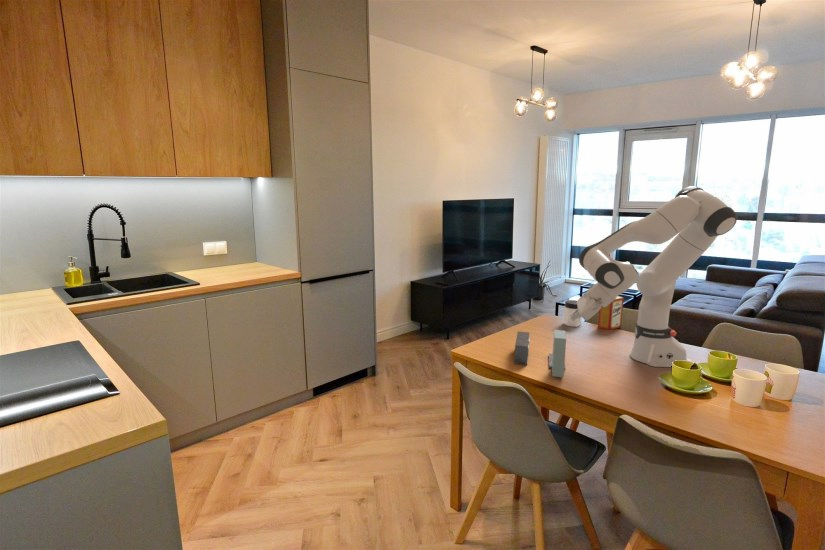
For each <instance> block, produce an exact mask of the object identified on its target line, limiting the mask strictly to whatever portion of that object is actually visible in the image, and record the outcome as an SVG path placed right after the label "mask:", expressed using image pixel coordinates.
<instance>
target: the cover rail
mask: <svg viewBox="0 0 825 550" xmlns="http://www.w3.org/2000/svg"><path fill="white" fill-rule="evenodd" d="M552 357H553V353H548V369H550V370H552ZM564 371H566V364H565V365H564Z"/></svg>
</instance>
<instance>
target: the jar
mask: <svg viewBox="0 0 825 550" xmlns="http://www.w3.org/2000/svg"><path fill="white" fill-rule="evenodd" d="M577 301H578V300H577V299H576V300H574V299H573V300H572V299H568V300H565V302H564V306H563V315H562V317H563V319H562V324H563V325H565V326H567V327H574V328H575V327H580V326H582V319H583V318H582V317H579V318H577V319H576V320H574V321H572V320H571V318H570V315H572V314H573V313H574V312H575V310H576V309H577V308H578V306H577V303H576V302H577Z"/></svg>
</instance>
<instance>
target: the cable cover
mask: <svg viewBox="0 0 825 550" xmlns="http://www.w3.org/2000/svg"><path fill="white" fill-rule="evenodd" d="M566 335H567V334H566V330H559V329H554V330H553V343H552V354H553V357H552V369H551V375H552V377H555V378H556V377H557V378H565V377H564V376H565V370H564V365H565V366H566V362H565V361H566V350H567V349H566V346H567V337H566Z"/></svg>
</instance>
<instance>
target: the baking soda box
mask: <svg viewBox="0 0 825 550" xmlns="http://www.w3.org/2000/svg"><path fill="white" fill-rule="evenodd" d="M623 308H624V297H622V296H620V295H618V296H617V297H616V299H615V300H614V301H612V302H611V303H610V304H609V305H607V306H606V307H605V308H604V307H603V306H601V309H600V310H599V311H598V322H597V323H598V324H597V328H599V329H603V330H606V331H613V330H615V329H620V328H622V319H623V311H624V310H623Z"/></svg>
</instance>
